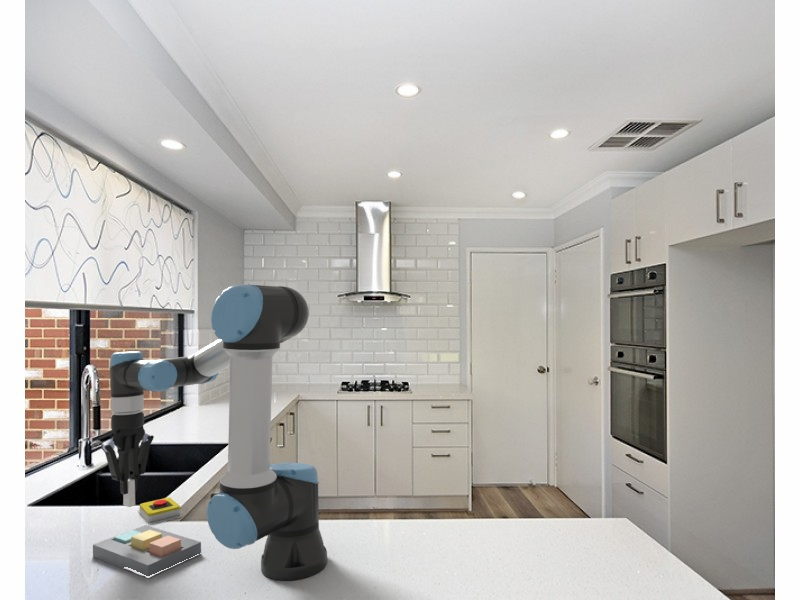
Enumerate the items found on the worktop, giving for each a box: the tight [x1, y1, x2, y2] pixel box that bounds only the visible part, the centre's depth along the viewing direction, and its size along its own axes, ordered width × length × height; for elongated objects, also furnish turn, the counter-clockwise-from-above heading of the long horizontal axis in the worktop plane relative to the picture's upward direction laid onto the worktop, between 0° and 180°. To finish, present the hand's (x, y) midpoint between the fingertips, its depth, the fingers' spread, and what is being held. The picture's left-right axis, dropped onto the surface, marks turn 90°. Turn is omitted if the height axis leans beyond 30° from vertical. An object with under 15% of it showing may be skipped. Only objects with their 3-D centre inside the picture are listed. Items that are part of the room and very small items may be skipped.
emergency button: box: [137, 497, 183, 525], centre depth 161 cm, size 9×4×15 cm
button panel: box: [92, 524, 202, 576], centre depth 132 cm, size 23×14×3 cm, turn 58°
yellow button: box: [131, 530, 162, 551], centre depth 132 cm, size 5×5×3 cm
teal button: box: [113, 529, 141, 544], centre depth 136 cm, size 5×5×3 cm
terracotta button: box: [149, 536, 181, 557], centre depth 128 cm, size 5×5×3 cm
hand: (129, 505), depth 136 cm, fingers closed
